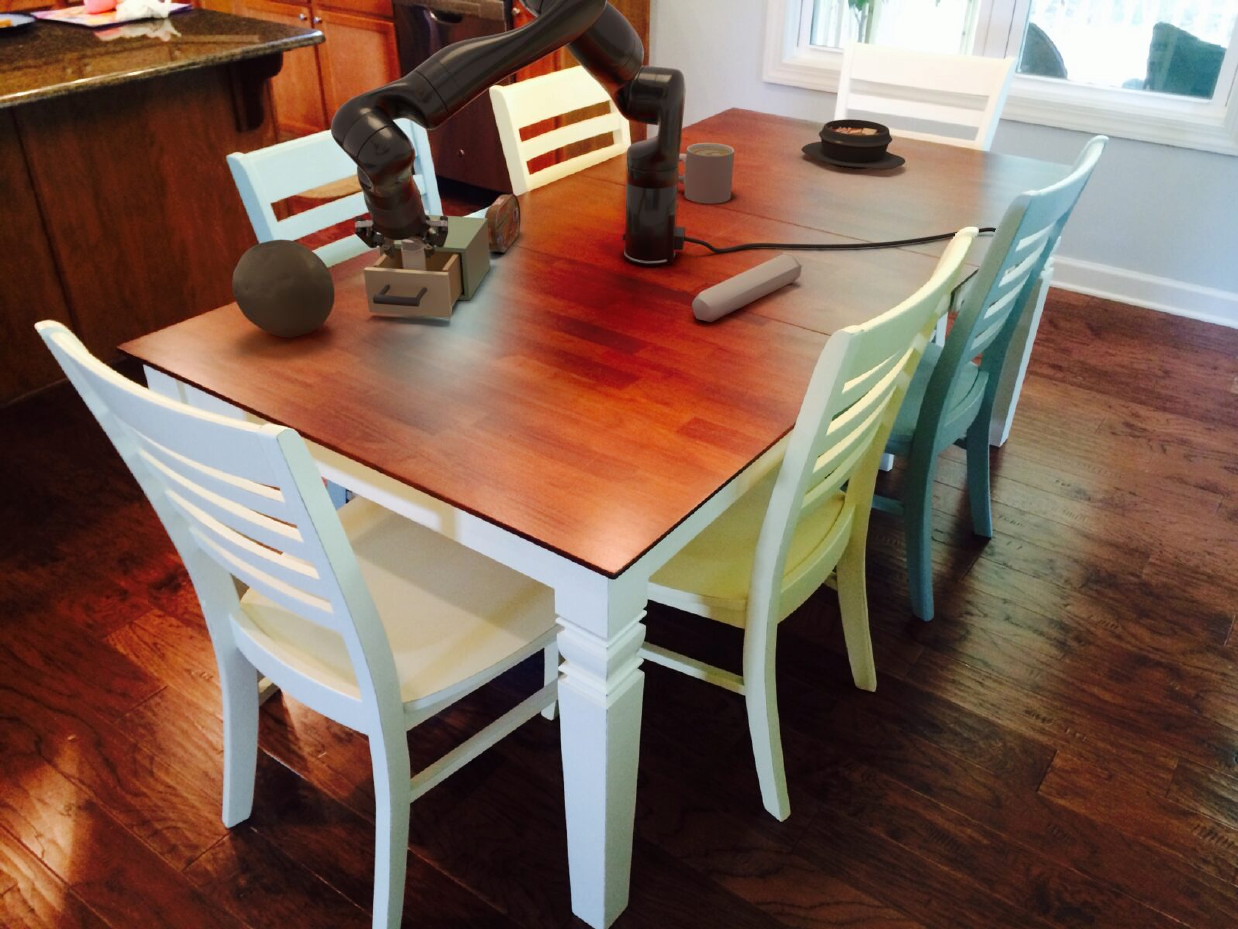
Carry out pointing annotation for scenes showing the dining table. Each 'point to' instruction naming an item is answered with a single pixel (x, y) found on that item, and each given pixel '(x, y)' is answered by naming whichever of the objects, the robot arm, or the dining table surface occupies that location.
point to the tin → (503, 222)
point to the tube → (746, 287)
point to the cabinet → (466, 249)
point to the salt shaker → (412, 256)
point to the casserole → (854, 145)
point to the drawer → (415, 285)
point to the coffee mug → (707, 172)
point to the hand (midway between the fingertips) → (410, 252)
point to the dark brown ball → (283, 288)
